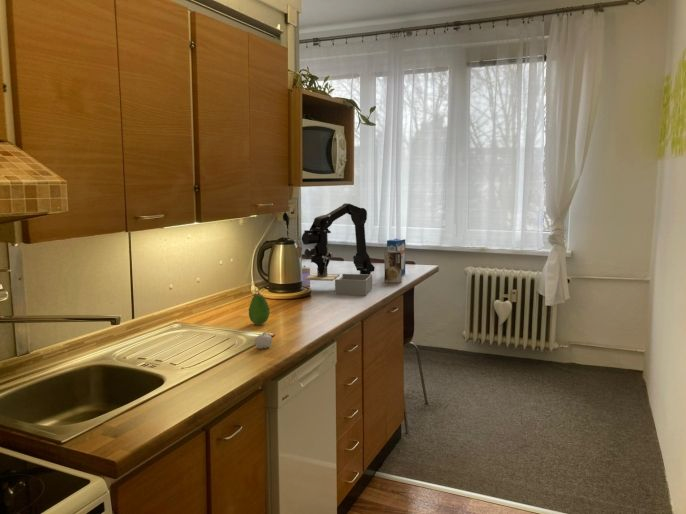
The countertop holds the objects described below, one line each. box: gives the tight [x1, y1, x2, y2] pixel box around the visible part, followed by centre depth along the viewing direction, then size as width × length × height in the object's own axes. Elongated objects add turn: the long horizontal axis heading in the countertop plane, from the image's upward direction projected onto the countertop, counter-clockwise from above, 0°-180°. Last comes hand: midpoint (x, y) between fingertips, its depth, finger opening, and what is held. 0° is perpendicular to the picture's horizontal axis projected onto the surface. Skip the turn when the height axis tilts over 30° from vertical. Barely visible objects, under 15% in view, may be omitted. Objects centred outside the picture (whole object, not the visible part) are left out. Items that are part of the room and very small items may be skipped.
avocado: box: [248, 293, 270, 326], centre depth 214 cm, size 8×8×12 cm
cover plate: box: [304, 266, 340, 282], centre depth 276 cm, size 14×14×5 cm
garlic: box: [254, 331, 273, 350], centre depth 185 cm, size 6×5×5 cm
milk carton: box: [386, 238, 406, 276], centre depth 316 cm, size 10×6×20 cm, turn 144°
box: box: [334, 273, 373, 296], centre depth 273 cm, size 16×15×7 cm
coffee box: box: [383, 250, 403, 283], centre depth 297 cm, size 9×6×16 cm
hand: (322, 274), depth 276 cm, fingers closed on cover plate, 4 cm apart
